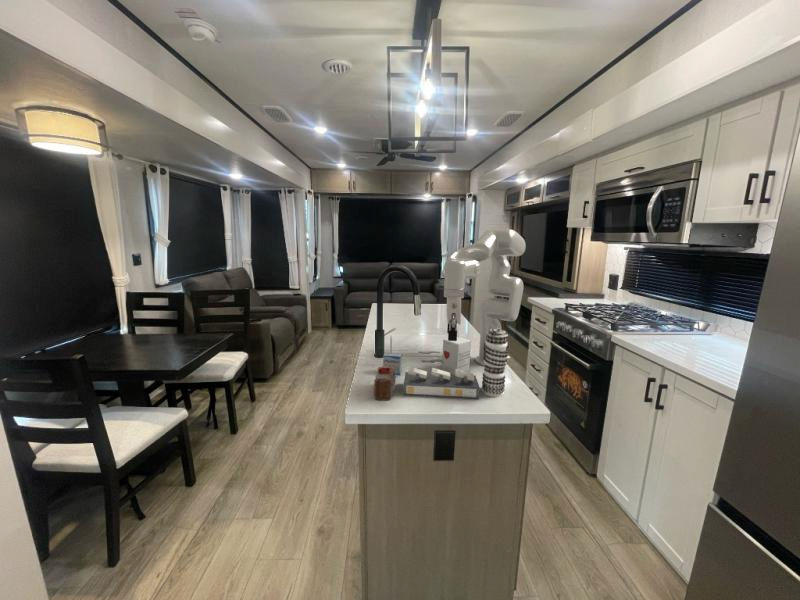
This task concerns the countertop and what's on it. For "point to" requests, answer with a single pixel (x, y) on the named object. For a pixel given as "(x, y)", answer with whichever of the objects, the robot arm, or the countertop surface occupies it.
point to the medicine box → (393, 362)
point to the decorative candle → (494, 362)
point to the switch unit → (441, 386)
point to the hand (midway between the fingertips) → (451, 336)
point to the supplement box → (456, 355)
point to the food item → (384, 383)
